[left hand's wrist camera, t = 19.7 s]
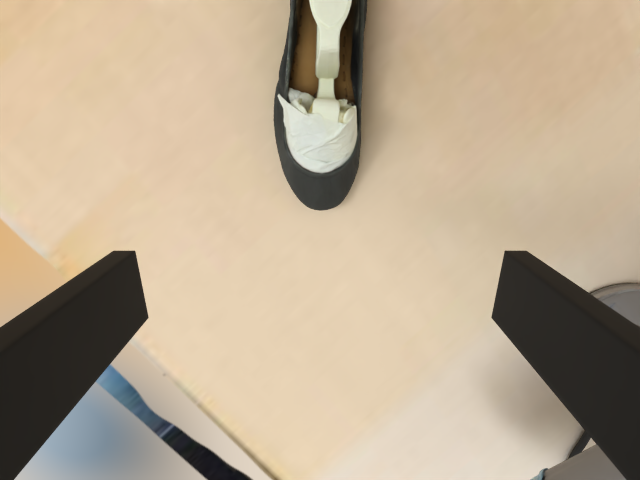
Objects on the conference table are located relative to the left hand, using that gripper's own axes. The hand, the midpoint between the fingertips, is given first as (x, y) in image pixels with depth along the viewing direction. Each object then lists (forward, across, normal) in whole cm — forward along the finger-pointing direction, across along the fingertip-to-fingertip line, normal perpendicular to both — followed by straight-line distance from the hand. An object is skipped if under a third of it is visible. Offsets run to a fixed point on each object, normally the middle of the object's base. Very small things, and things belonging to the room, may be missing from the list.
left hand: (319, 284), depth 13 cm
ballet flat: (+25, 0, -8) cm, 26 cm away
